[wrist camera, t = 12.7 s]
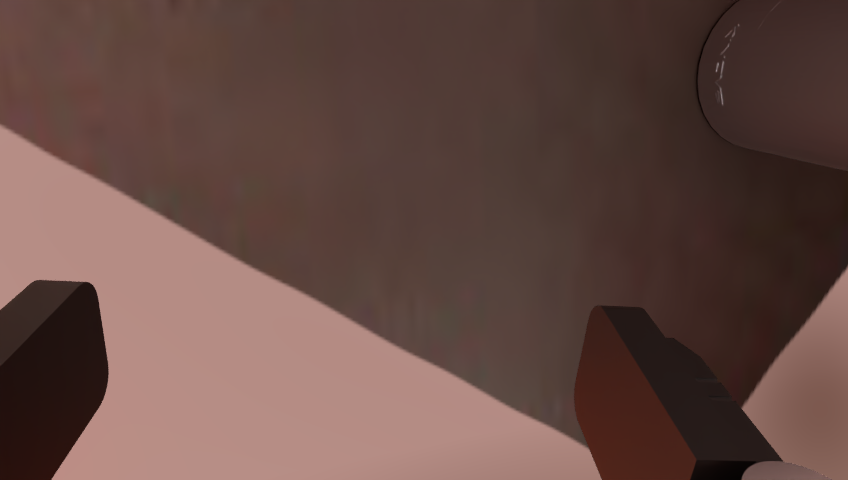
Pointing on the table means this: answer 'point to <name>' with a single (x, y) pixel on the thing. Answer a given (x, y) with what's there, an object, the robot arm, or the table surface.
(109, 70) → the table surface
